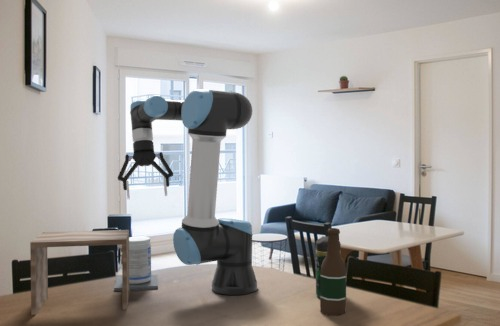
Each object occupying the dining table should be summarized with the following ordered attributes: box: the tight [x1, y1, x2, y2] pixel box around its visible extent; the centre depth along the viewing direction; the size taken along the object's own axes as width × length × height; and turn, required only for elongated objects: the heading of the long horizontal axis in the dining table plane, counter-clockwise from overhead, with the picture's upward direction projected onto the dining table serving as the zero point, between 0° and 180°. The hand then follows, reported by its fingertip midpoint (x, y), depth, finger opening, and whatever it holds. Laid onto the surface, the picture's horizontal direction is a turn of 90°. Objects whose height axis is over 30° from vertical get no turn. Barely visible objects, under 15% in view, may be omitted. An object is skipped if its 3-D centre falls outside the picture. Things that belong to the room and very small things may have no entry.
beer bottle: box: [319, 227, 347, 317], centre depth 140 cm, size 8×8×24 cm
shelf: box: [29, 229, 130, 316], centre depth 147 cm, size 16×26×20 cm, turn 101°
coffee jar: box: [315, 236, 342, 298], centre depth 155 cm, size 10×8×19 cm
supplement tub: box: [129, 235, 152, 284], centre depth 167 cm, size 10×10×15 cm
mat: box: [113, 274, 159, 292], centre depth 168 cm, size 14×14×1 cm
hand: (147, 197), depth 180 cm, fingers open, 13 cm apart
